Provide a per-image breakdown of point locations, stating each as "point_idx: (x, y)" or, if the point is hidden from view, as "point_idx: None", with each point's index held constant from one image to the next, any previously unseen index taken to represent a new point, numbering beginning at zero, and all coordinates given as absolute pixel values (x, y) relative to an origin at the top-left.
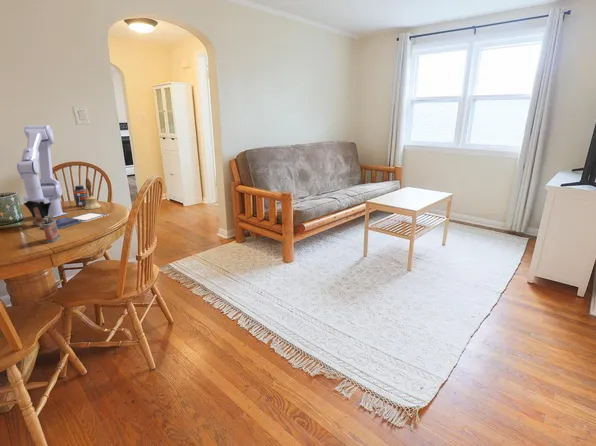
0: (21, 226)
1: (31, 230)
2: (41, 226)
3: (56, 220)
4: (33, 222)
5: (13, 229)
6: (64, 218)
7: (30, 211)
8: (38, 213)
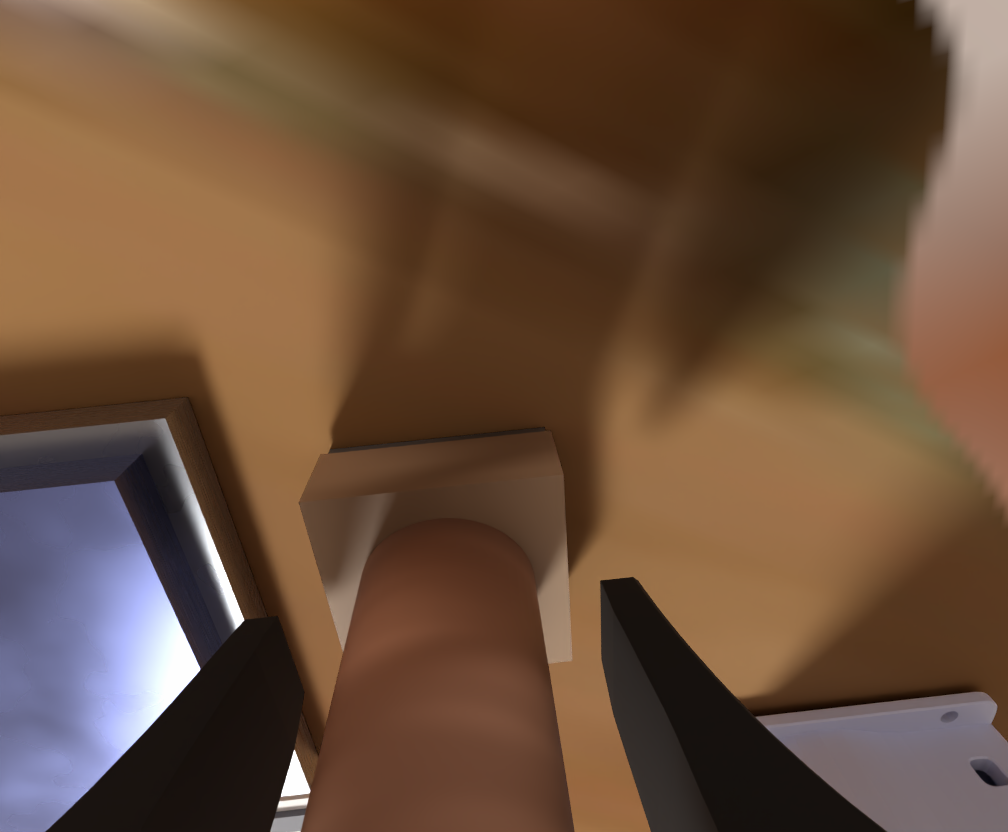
0: (713, 276)
1: (145, 218)
2: (115, 420)
3: (145, 692)
4: (524, 460)
5: (648, 47)
6: None
7: (697, 690)
8: (341, 710)
